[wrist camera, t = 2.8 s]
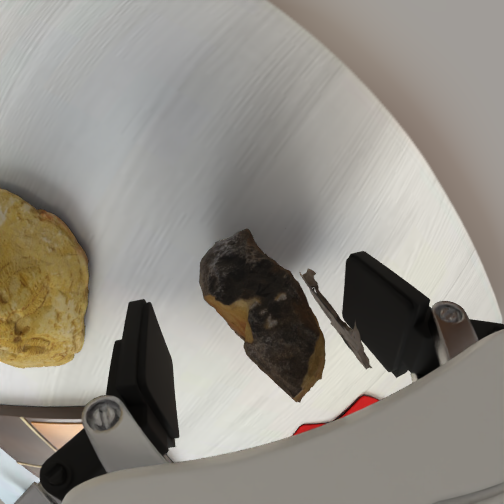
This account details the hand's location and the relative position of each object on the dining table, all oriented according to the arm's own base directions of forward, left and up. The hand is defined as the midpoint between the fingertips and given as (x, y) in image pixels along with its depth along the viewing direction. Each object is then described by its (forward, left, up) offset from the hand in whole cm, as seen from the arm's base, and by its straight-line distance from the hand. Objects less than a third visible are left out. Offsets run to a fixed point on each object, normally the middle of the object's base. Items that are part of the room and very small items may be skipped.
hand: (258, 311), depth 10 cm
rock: (0, 0, -4) cm, 4 cm away
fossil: (-1, -13, -4) cm, 13 cm away
